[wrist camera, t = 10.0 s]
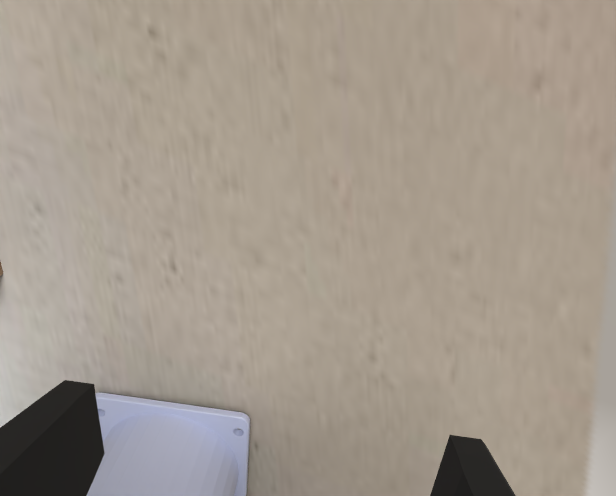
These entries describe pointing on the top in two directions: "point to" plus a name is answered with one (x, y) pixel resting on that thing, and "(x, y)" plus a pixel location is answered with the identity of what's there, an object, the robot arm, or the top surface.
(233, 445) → the robot arm
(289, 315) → the top surface
